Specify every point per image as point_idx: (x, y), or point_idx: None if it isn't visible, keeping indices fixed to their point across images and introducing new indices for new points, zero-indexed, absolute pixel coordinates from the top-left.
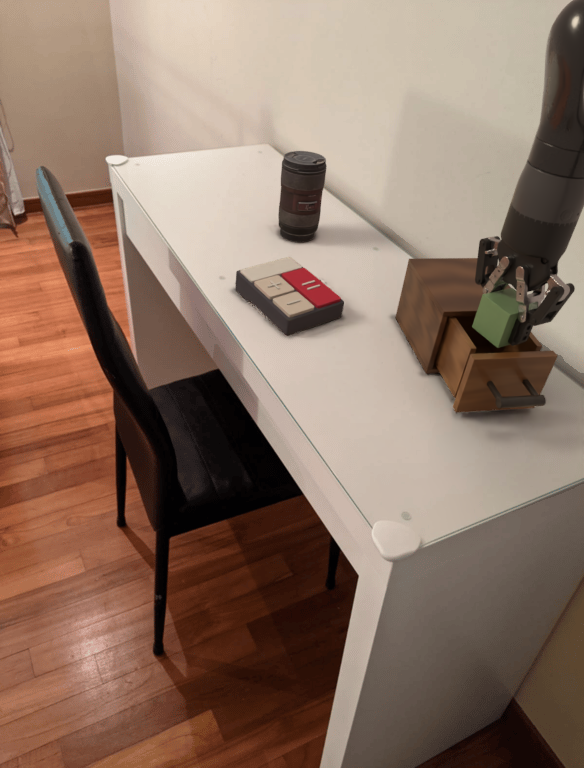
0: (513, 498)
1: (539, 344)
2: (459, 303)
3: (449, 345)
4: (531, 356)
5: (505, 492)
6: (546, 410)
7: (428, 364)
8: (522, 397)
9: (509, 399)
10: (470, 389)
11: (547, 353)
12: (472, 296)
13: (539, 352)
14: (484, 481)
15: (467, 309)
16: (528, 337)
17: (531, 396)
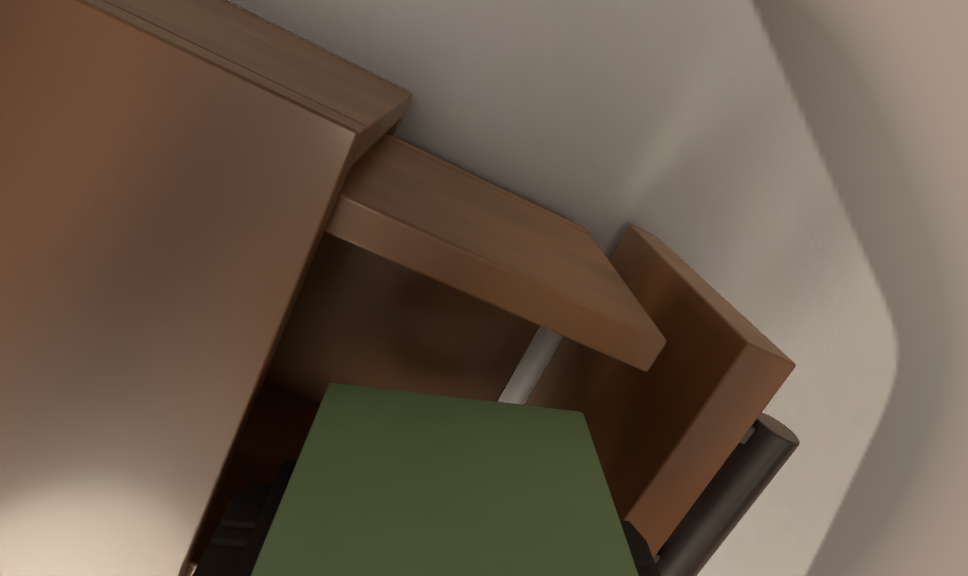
0: (804, 550)
1: (647, 349)
2: (84, 545)
3: None
4: (692, 497)
5: (779, 553)
6: (679, 164)
7: None
8: (728, 522)
9: (698, 566)
10: None
11: (740, 400)
12: (19, 406)
13: (703, 434)
14: (721, 568)
15: (168, 548)
16: (650, 552)
17: (751, 489)
